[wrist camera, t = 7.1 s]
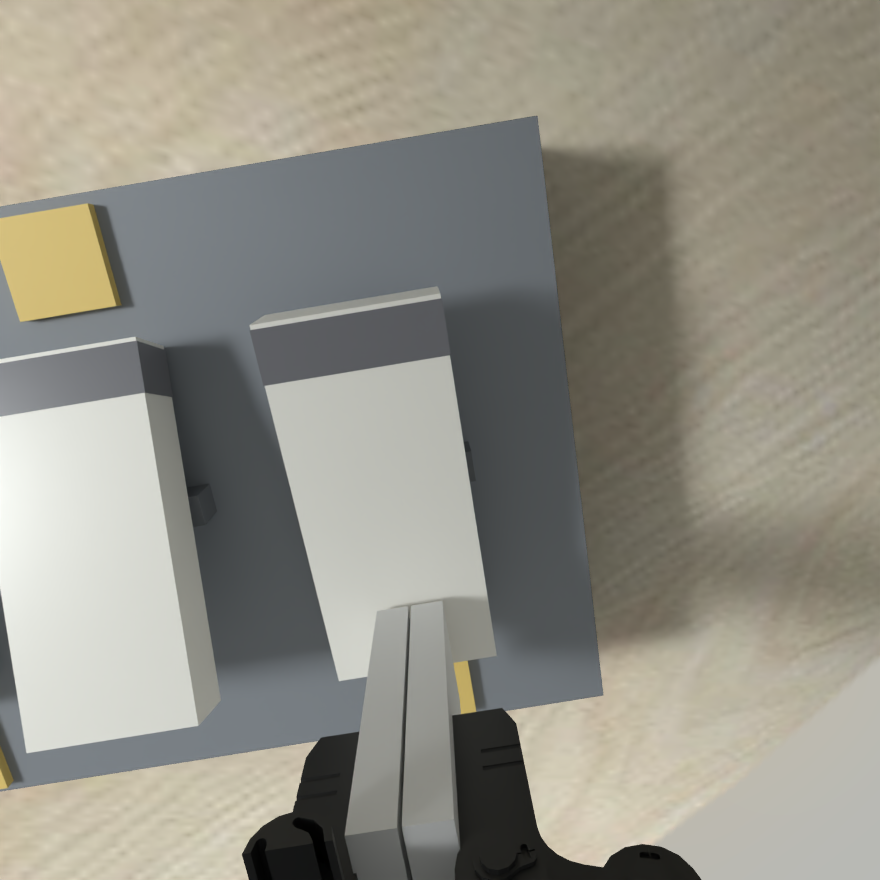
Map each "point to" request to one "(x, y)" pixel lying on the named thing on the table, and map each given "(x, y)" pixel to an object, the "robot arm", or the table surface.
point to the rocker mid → (99, 548)
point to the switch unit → (252, 427)
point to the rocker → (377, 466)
